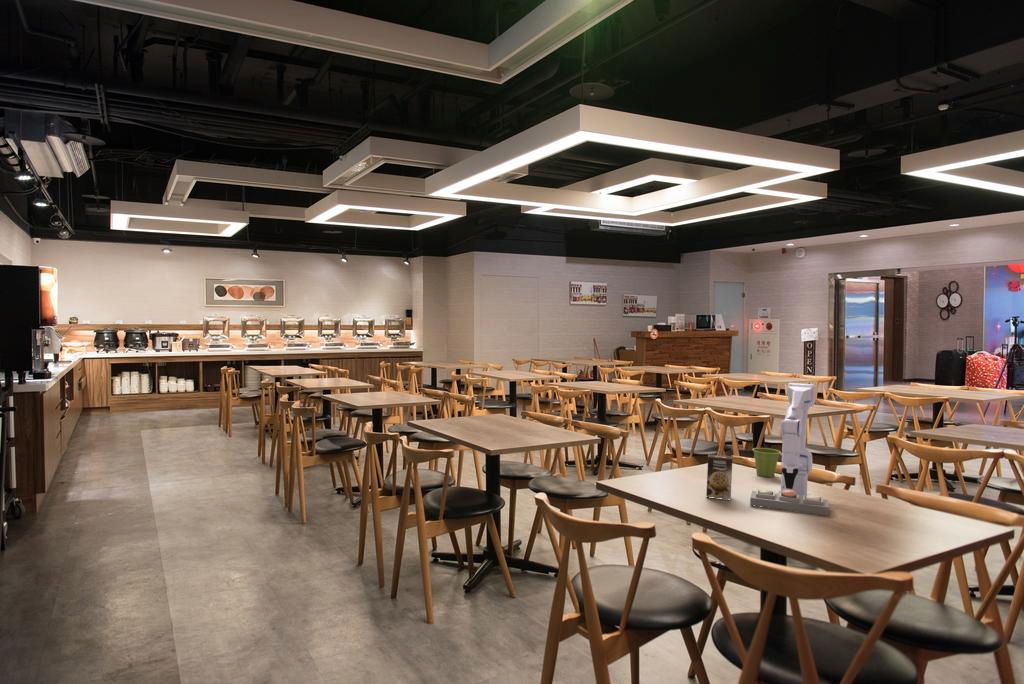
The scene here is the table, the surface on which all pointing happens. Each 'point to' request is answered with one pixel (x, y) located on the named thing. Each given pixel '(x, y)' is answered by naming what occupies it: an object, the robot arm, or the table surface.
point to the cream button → (812, 497)
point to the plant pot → (766, 461)
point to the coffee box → (719, 476)
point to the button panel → (790, 503)
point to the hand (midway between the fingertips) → (789, 488)
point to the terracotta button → (789, 493)
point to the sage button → (765, 492)
